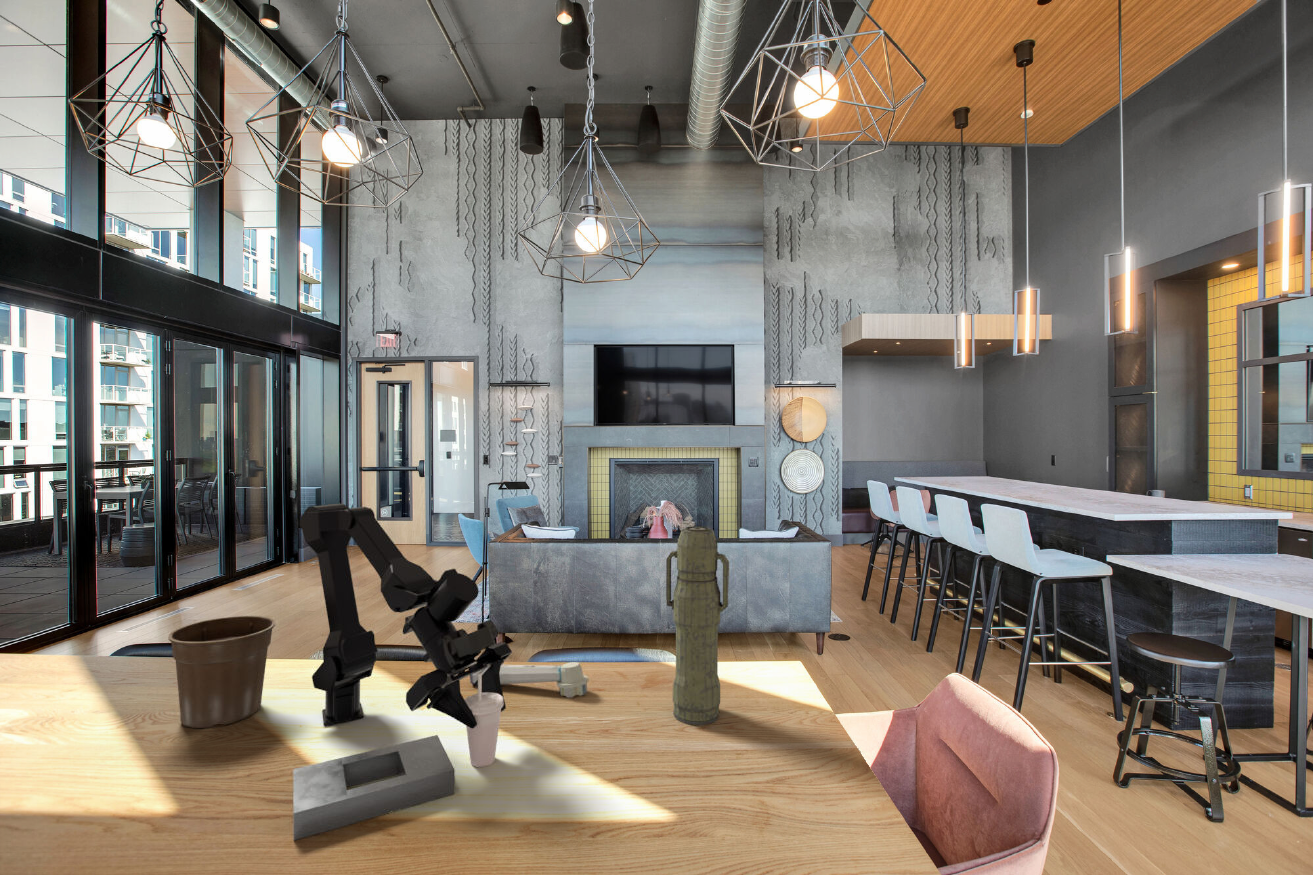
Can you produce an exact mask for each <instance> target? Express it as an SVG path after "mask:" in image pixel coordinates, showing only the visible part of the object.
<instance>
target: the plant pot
mask: <svg viewBox="0 0 1313 875" xmlns="http://www.w3.org/2000/svg"><path fill="white" fill-rule="evenodd" d="M275 626H276V621H275V619H274V618H272V617H267V616H262V615H237V616H236V615H235V616H226V617H219V618H212V619H205V620H202V621H201V620H200V621H197V622H194V623H190V624H187V625H185V626H182V627H178V628H176V629H175V630H173V631H171V632H170V633H169V634H168V635H167V638H168V641H169V642H170V643H171V648H172V649H171V650H172V657H173V658H172V659H174V660H175V669H176V680H177V690H178V691H177V692H178V701H179V702H178V704H179V705H178V706H179V713H180V714H179V716H180V717H179V718H180V723H181V724H182V725H183V726H185V727H189V728H193V729H206V728H207V729H208V728H212V727H214V726H215V725H219V724H222V725H224V726H227V725H230V724H233V723H236V722H239V721H242V720H244V719H246V718H247V719H248V718H249V717H251V716H252V715H254V714H256V713H257V712H258V711H259V709H260V708H261V705H262V700H263V699H262V697H263V692H264V691H263V689H264V682H265V674H266V665H267V658H268V656H267V655H268V648H269V646H270V645H271V642H272V641H271V640H272V635H273V634H272V633H273V629H274V628H275Z"/></svg>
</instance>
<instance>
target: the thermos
mask: <svg viewBox="0 0 1313 875" xmlns="http://www.w3.org/2000/svg"><path fill="white" fill-rule="evenodd" d="M676 545H677V546H676V550H672V551H671V552H669V554H668V556H667V558H666V559H665V561H666V562H665V564H666V565H665V566H666V570H665V571H666V573H665V578H666V579H665V580H666V581H665V596H666V597H665V599H666V606H667V607H671V610H673V622H674V624H675V678H674V679H673V683H672V702H673V712H672V713H673V714H672V715H673V717H674V718H675V719H676V720H677V721H679V722H680V723H683V724H685V725H686V724H687V725H693V726H703V725H704V726H705V725H710V724H713V723H715V722H716V721H718V720H719V718H720V704H721V682H720V678H719V675H718V670H719V669H718V666H719V665H718V657H719V656H718V654H719V653H718V651H719V650H718V648H719V647H718V645H719V644H718V642H719V640H718V639H719V637H718V636H719V634H718V633H719V625H720V623H721V613H722V612H723V611H725V610H726V609H727V608H728V606H729V582H730V581H729V580H730V578H729V577H730V561H729V559H728V558H727V556H726V554H723V553H719V552H718V542H717V538H716V535H715V531H714V530H713V529H711V528H710V527H707V526H695V525H693V526H685V528H683V529H681V530H680V534H679V537H678V540H677V543H676ZM673 557H674V558H675V559H676V569H677V576H676V585H675V587H674V591H673V599H672V558H673ZM718 560H720V562H721V563H722V601H721V591H720V588H719V584H718V576H717V571H718Z"/></svg>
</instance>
